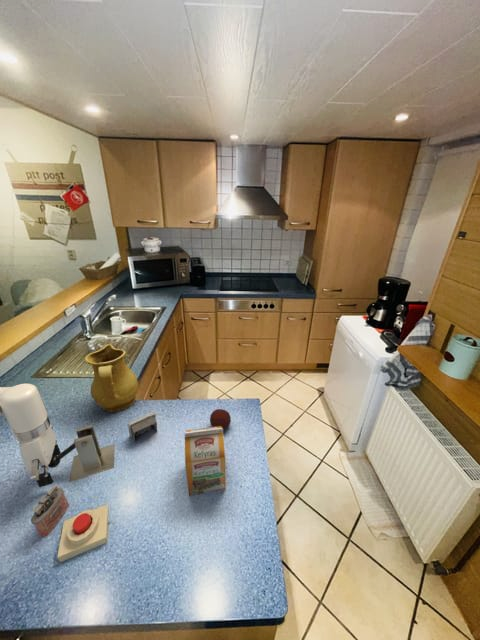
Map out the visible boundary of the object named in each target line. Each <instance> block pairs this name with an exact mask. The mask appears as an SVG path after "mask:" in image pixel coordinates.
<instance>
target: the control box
mask: <svg viewBox="0 0 480 640" xmlns="http://www.w3.org/2000/svg"><path fill="white" fill-rule="evenodd" d="M109 510H110V509H109V504H105V505H101V506H99V507H97V508H94V509H86V510H82V511H81V512H79V513H78V514H77V515H76V516H73V517H71V518H67V519H65V520H63V525H62V530H61V536H60V540H59V545H58V552H57V557H56V558H57V560H58V562H59V563H63V562H65V561H66V560H70V559H71V558H74V557H76V556H78V555H81V554H83V553H86V552H88V551H90V550H92V549H95V548H97V547H99V546H102V545H105V544H107V543H109V529H110V528H109V525H110V524H109ZM83 513H87V514H89V516H90V518H91V525H90V527H89V528H88V530H86V531H85V532H84V533H82V534H77V533H75V531H74V529H73V522H74V520H75V519H76V518H77V517H78V516H79V515H81V514H83Z"/></svg>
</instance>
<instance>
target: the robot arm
mask: <svg viewBox="0 0 480 640" xmlns="http://www.w3.org/2000/svg"><path fill="white" fill-rule="evenodd" d="M3 415H4V416H5V419H6V421H7V423H8V425H9V427H10V429H11V431H12V433H13V435H14V437H15V439H16V441H17V442H18V447H19V451H20V452H19V453H20V456H21V458H22V461H23V465H24V466H25V468H26V471H27V472H28V473H30V480H31V481H33V482H36V484H37V485H38V487H39V488H43V487H46V486H50V485H51V484H54V479H53V476H52V475H51V472H49V470H48V469H49V467H48V465H49V463H50V461H51V458H52V456H55V455H57V456H58V455H59V454H60V453H62V452H61V450H60V447H59V445H58V440H57V439H56V434H55V431H54V428H53V426H52V422H51V420H50V417H49V415H48V412H47V410H46V407H45V404H44V402H43V399H42V396H41V395H40V392H39V389H38V388H37V386H36V385H35V384H33V383H20V384H16V385H13V386H5V387H4V386H0V417H1V416H3ZM40 469H43V472H41V473H40Z"/></svg>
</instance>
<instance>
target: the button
mask: <svg viewBox="0 0 480 640" xmlns="http://www.w3.org/2000/svg"><path fill="white" fill-rule="evenodd" d="M90 525H91V518H90V516H89V514H87V513H83V514H81V515H79V516H78V517H77V518H76V519H75V520H74V522H73V529H74V531H75V533H77V534H82V533H84V532H85V531H86V530H88V528H89V527H90Z"/></svg>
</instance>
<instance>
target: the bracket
mask: <svg viewBox="0 0 480 640" xmlns="http://www.w3.org/2000/svg"><path fill="white" fill-rule="evenodd" d="M86 430H87V431H89V432H91V433H93V434H92V435H89V436H85V437H82V438H78V436H79V435H80V434H82V433H83V432H84V431H86ZM75 432H76V434H77V438H75V439H73V443H74V444H75V447H76V448H75V450H76V452H77V455H73V458H72V464H71V469H70V473H69V480H68V483H71V482H74V481H78V480H81V479H85V478H87V477H90V476H93V475H97V474H100V473H102V472H105V471H108V470H111V469H114V468H115V454H116V453H115V451H116V450H115V449H116V444H115V443H114V444H110V445H107V446H104V447H103V446H102V447H101V446H100V442H99V438H98V437H97V433H96V430H95V427H94V424H90V425H86V426H83V427H79V428H76V429H75Z"/></svg>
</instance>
